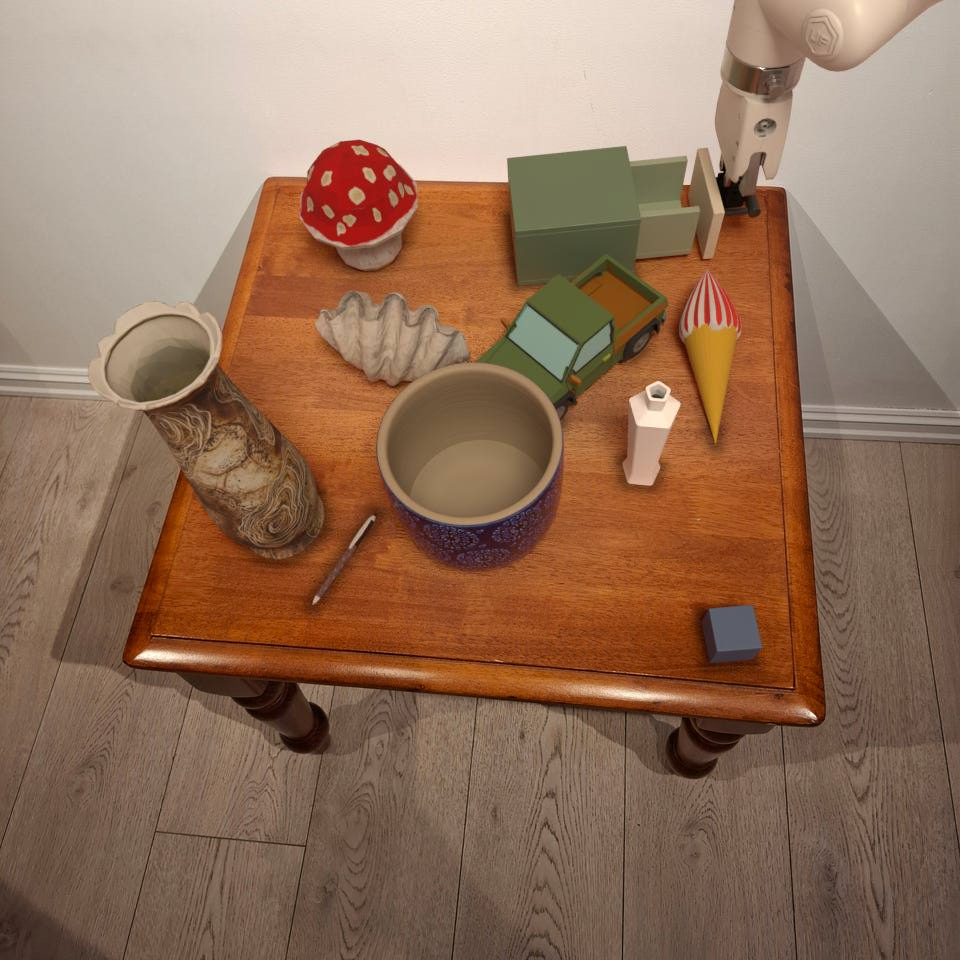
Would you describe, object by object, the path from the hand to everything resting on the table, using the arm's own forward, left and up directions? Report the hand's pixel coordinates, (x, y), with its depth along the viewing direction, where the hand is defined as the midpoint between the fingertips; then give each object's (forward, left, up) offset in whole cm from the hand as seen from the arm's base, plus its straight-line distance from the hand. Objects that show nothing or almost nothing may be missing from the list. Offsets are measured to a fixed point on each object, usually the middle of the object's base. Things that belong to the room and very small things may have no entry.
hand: (727, 203), depth 96 cm
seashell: (+39, +15, -5) cm, 42 cm away
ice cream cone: (+6, +19, -5) cm, 20 cm away
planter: (+31, +34, -5) cm, 46 cm away
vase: (+52, +33, -5) cm, 62 cm away
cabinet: (+18, 0, -5) cm, 19 cm away
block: (+9, +49, -5) cm, 50 cm away
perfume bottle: (+14, +31, -5) cm, 34 cm away
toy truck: (+20, +17, -5) cm, 27 cm away
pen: (+45, +38, -5) cm, 59 cm away
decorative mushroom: (+42, -2, -5) cm, 42 cm away
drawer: (+6, 0, -4) cm, 7 cm away
